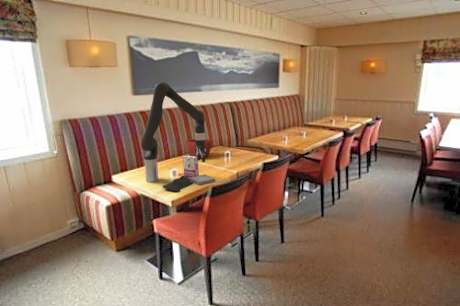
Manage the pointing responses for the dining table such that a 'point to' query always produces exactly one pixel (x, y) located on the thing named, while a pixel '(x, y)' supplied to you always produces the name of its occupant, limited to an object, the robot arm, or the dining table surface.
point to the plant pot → (191, 145)
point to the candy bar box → (190, 166)
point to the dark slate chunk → (178, 184)
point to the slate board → (202, 179)
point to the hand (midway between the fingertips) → (201, 161)
